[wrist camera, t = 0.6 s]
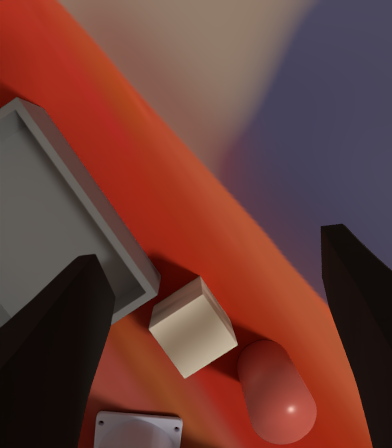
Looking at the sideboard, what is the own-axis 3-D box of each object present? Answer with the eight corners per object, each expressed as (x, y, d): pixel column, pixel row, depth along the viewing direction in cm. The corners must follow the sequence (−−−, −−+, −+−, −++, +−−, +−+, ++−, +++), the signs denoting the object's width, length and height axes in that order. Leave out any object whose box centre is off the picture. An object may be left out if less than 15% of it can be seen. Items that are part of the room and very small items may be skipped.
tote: (161, 276, 33) (157, 294, 28) (40, 354, 34) (16, 386, 29) (43, 108, 31) (16, 96, 26) (-84, 196, 31) (-134, 202, 26)
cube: (230, 319, 34) (237, 345, 29) (184, 348, 34) (184, 378, 29) (200, 275, 33) (202, 294, 28) (153, 305, 34) (148, 329, 29)
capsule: (285, 392, 35) (310, 446, 28) (233, 387, 35) (245, 441, 28) (293, 342, 34) (321, 386, 28) (240, 337, 34) (254, 380, 27)
